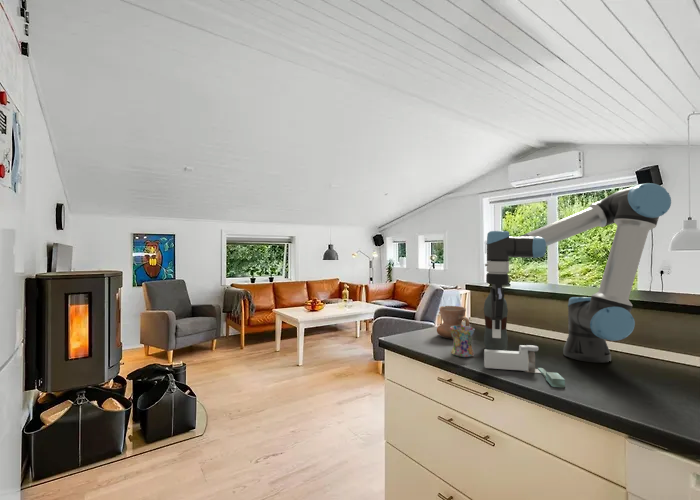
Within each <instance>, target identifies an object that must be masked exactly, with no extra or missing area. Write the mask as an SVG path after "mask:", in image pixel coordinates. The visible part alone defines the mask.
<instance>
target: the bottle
mask: <svg viewBox="0 0 700 500" xmlns="http://www.w3.org/2000/svg"><path fill="white" fill-rule="evenodd" d="M492 285H493V284H491V286H492ZM508 311H509V310H508V303H507V300H506V298H505V297H504V300H503V316H502V317H503V319H502V320H501V338H493V337H492V319H491V318H492V316H491V314H492V312H491V292H490V291H489V293H488V295H487V297H486V298H485V300H484V305H483V313H484V324H485V327H484V335H483V342H484V347H485V348H484V349H486V350H503V351H508V350H507V349H508V344H509V339H508V332H507V330H508V329H507V323H508Z"/></svg>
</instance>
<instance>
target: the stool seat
mask: <svg viewBox="0 0 700 500" xmlns="http://www.w3.org/2000/svg"><path fill="white" fill-rule="evenodd" d="M524 373H532V374H541V375H543V377H544V378H545V381H546V382H547V383H549V385H550V386H551V387H554V388H565V387H566V379H565V378H564V377H563V376H562V375H560V374H559V373H558V372H553V371H552V372H550V371H547V370H546V369H545V368H543V367H537V368H536V351H529V350H528V371H524Z"/></svg>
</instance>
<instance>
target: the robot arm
mask: <svg viewBox="0 0 700 500" xmlns="http://www.w3.org/2000/svg"><path fill="white" fill-rule="evenodd" d="M671 205H672V198H671V195H670V193H669V192H668V191H667V189H666V188H665V187H663V186H661V185H660V184H657V183H652V182H651V183H650V182H646V183H639V184H636V185H634V186H632V187H628V188H624V189H621V190H618V191H616V192H614V193H612V194H609V195H608V196H606V197H604V198H603V199H600V200H598V201H596V202H593V203H591V204H590V205H589V206H588V207H587V208H585V209H583V210H581V211H579V212H576V213H574V214H571V215H569V216H566V217H563V218H561V219H558V220H556V221H553V222H551V223H548V224H545V225H544V226H542V227H539V228H536V229H534V230H531V231H529V232H526V233H524V234H521V235H519V236H511V235H510V232H509V231H508V230H490V231H489V232H488V233H487V236H486V263H485V264H484V267H486V272H487V273H486V275H485V276H486V277H485V281H486V284H487V285H488V284H489V285H491V286H492V287H491V288H490V291H489V293H490V292H491V312H492V314H491V316H492V318H491V319H492V337H493V338H501V320H502V319H503V317H502V316H503V300H504V298H505V289H503V285H508V284H509V274H508V273H509V272H510V269H509V268H510V258H532V259H536V258H543V257H544V256H545V255H546V252H547V246H551V245H553V244H555V243H557V242H561V241H563V240H565V239H569V238H570V237H573V236H576V235H579V234H582V233H584V232H586V231H589V230H591V229H594V228H597V227H599V228H604V227H606V226H610V225H612V224H615V225H616V226H617V227H616V230H615V233H614V236H613V241H612V244H611V247H610V250H609V254H608V258H607V261H606V265H605V268H604V271H603V274H602V278H601V282H600V284H599V285H600V286H599V289H598V291H597V292H595V293H593V294H591V296H588V297H587V296H572V297H569V299H568V302H567V303H568V304H567V309H568V311H567V313H568V314H567V315H568V316H567V317H568V321H567V322H568V335H567V338H566V341H565V343H564V346H563V355H564V356H565V357H567V358H570V359H573V360H577V361H581V362H588V363H596V364H597V363H601V364H602V363H604V364H605V363H609V361H610V362H611V361H612V354H611V352H610V349H609V346H608V344H607V341H610V342H611V341H613V342H614V341H621V340H624V339H627V337H629V336H630V335H631V334H632V333H633V331H634V329H635V325H636V321H635V318H634V317H633V314H632V313H631V312H632V309H633V304H632V302H631V301H630V300H629V298H630V295H631V291H632V288H633V285H634V282H635V279H636V275H637V272H638V268H639V264H640V261H641V258H642V254H643V251H644V249H645V245H646V241H647V238H648V234H649V232H650V231H651V230H653V229H655V228H657V225H658V221H659V217H662V216H664V215H665V214H667V212H668V211H669V210H670V208H671ZM492 284H493V285H492Z"/></svg>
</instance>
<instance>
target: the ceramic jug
mask: <svg viewBox="0 0 700 500" xmlns="http://www.w3.org/2000/svg"><path fill="white" fill-rule="evenodd" d="M466 310H467V308H466V307H464V306H459V305H444V306H443V305H442V306H439V312H438V314H439V315H440V317H441V320H442V323H441V324H440V325H438V326H437V328H436V332H437V334H438V335H439V336H440V337H442V338H445V339H451V340H453V338H452V335H451V329H450V327H452V326H468V327H470V320H469V318H468V317H467V316H465V315H466ZM463 321H464V322H465V325H464V324H462V323H463Z"/></svg>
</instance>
